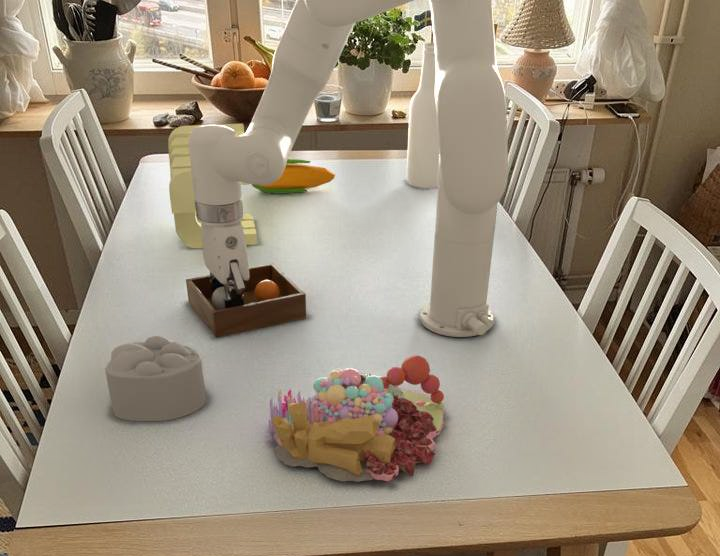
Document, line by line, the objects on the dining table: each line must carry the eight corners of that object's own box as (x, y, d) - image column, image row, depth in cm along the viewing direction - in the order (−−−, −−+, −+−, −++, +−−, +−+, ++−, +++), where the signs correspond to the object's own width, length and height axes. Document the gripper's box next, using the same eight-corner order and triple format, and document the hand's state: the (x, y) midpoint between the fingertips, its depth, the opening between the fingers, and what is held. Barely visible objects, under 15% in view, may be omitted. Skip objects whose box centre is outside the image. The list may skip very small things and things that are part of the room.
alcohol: (403, 177, 206) (409, 40, 188) (439, 176, 207) (448, 40, 189) (409, 189, 200) (415, 48, 181) (445, 188, 200) (456, 48, 182)
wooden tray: (306, 318, 146) (305, 293, 143) (215, 337, 140) (213, 312, 137) (274, 286, 156) (273, 262, 154) (188, 303, 150) (185, 279, 147)
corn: (246, 153, 195) (333, 151, 197) (249, 186, 200) (333, 183, 202) (247, 166, 189) (336, 163, 191) (249, 199, 194) (336, 196, 196)
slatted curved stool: (176, 211, 186) (166, 126, 175) (249, 207, 189) (243, 123, 178) (178, 266, 163) (166, 172, 152) (261, 260, 165) (255, 168, 154)
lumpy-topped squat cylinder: (123, 383, 128) (113, 332, 123) (209, 382, 129) (203, 331, 123) (109, 421, 120) (98, 368, 115) (202, 420, 120) (195, 367, 115)
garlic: (250, 315, 146) (248, 287, 143) (222, 323, 144) (219, 294, 140) (234, 302, 150) (232, 274, 147) (206, 309, 148) (203, 281, 144)
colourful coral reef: (430, 498, 107) (435, 437, 101) (250, 476, 110) (245, 417, 104) (449, 395, 126) (454, 340, 121) (295, 379, 130) (293, 325, 124)
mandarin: (284, 307, 149) (283, 283, 146) (260, 312, 147) (259, 288, 144) (274, 297, 152) (273, 274, 149) (251, 301, 150) (249, 278, 148)
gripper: (261, 223, 131) (267, 328, 142) (223, 189, 143) (231, 288, 154) (215, 231, 128) (225, 337, 139) (180, 196, 140) (191, 296, 151)
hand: (228, 310), depth 147 cm, fingers closed on garlic, 6 cm apart
